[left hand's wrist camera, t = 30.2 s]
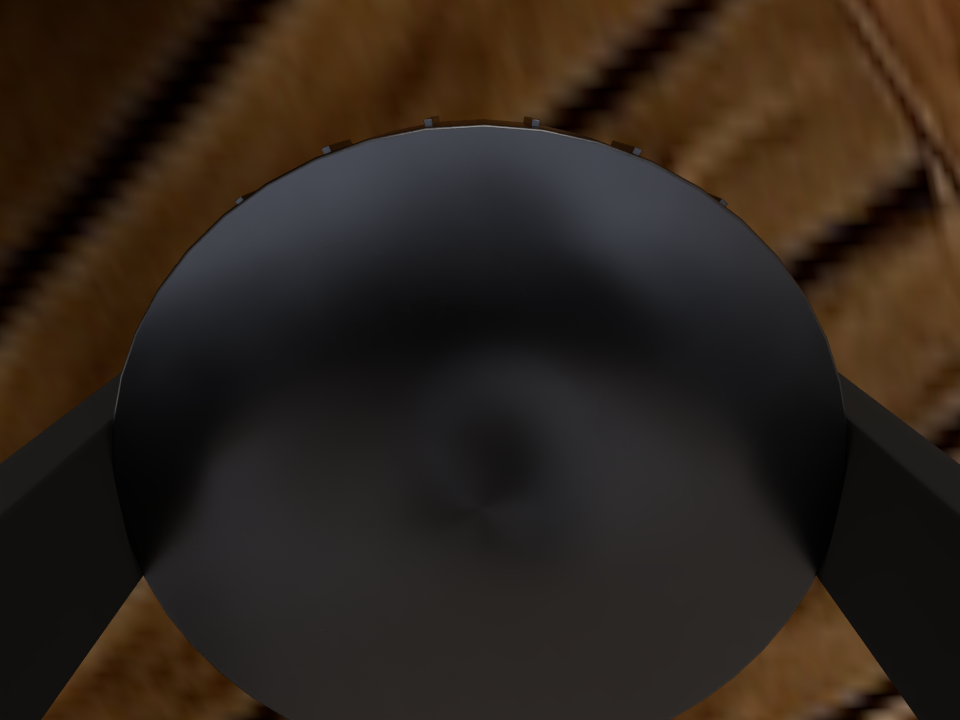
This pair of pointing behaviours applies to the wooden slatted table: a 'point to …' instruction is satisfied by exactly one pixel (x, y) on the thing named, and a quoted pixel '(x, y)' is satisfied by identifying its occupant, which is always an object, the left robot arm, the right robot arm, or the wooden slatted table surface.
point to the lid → (479, 434)
